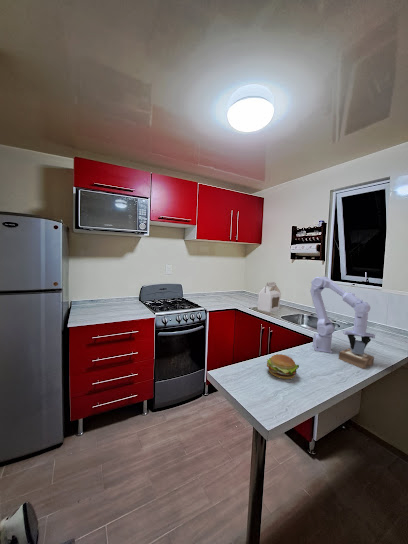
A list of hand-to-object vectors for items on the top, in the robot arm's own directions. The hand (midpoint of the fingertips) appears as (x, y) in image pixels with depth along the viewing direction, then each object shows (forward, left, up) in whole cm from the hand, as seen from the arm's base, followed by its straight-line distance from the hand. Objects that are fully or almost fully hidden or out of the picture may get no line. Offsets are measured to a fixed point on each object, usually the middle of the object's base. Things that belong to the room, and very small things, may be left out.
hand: (357, 349), depth 123 cm
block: (0, 0, -2) cm, 2 cm away
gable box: (-39, +104, -7) cm, 111 cm away
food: (-42, -27, -7) cm, 50 cm away
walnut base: (0, 0, -7) cm, 7 cm away
